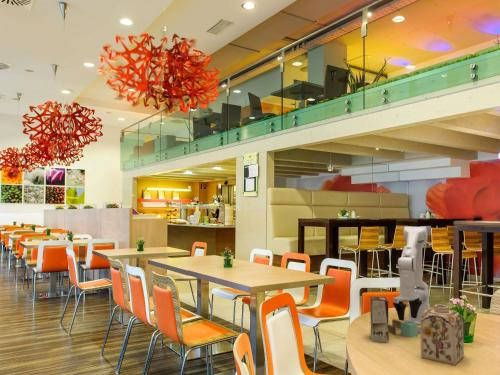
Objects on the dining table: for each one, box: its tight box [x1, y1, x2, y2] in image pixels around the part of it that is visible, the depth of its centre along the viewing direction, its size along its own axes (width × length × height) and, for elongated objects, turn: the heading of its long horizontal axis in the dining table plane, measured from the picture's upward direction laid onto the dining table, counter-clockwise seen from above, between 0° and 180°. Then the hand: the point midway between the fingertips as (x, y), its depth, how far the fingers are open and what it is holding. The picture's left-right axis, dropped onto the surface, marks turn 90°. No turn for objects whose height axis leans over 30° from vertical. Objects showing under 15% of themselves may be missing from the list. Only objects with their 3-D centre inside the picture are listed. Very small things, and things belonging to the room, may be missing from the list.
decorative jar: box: [420, 304, 465, 366], centre depth 151 cm, size 12×12×18 cm
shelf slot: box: [388, 318, 402, 335], centre depth 184 cm, size 10×9×3 cm
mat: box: [417, 326, 421, 335], centre depth 184 cm, size 7×7×1 cm
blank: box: [400, 320, 418, 338], centre depth 177 cm, size 4×5×5 cm
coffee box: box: [369, 296, 390, 344], centre depth 172 cm, size 9×6×16 cm
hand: (407, 318), depth 178 cm, fingers open, 7 cm apart
